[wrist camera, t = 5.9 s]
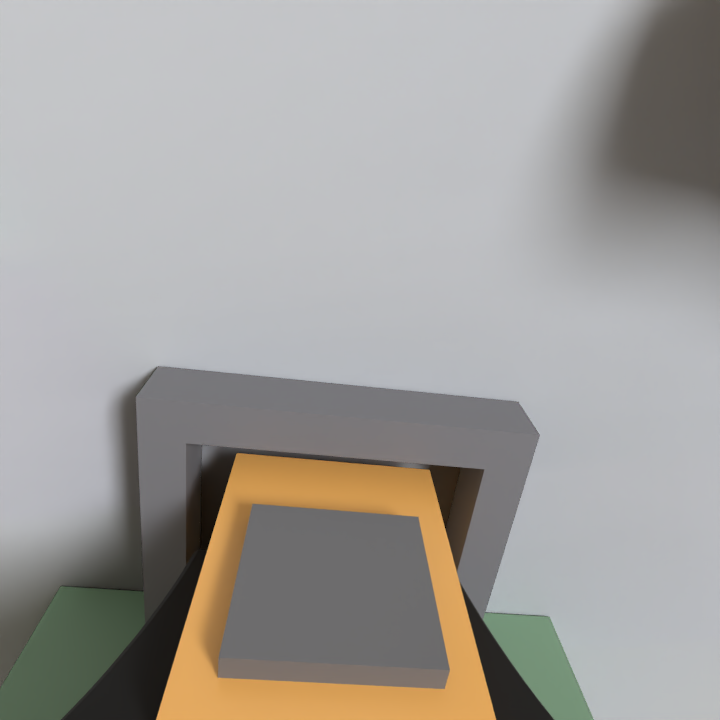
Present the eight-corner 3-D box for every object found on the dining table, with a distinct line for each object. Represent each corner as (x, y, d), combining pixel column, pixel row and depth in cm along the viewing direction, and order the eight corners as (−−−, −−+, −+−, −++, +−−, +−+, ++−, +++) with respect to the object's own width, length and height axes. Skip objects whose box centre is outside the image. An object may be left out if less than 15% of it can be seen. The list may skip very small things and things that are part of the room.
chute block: (398, 608, 14) (437, 904, 9) (229, 597, 14) (161, 900, 9) (432, 455, 13) (507, 715, 7) (237, 438, 12) (155, 699, 7)
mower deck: (489, 777, 19) (549, 1039, 14) (82, 763, 18) (-29, 1046, 12) (626, 412, 13) (830, 618, 8) (31, 353, 12) (-225, 549, 7)
